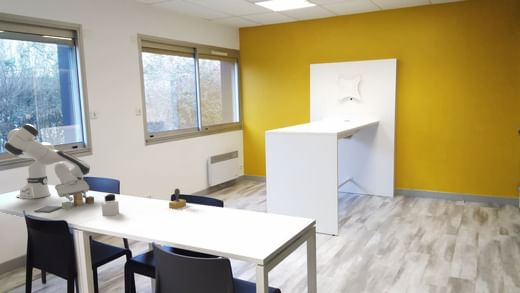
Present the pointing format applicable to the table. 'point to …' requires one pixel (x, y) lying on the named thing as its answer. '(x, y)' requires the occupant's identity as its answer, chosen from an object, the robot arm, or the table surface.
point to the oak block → (78, 199)
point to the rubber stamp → (177, 201)
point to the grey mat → (48, 209)
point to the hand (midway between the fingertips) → (78, 198)
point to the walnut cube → (89, 199)
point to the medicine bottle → (110, 205)
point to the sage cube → (66, 205)
